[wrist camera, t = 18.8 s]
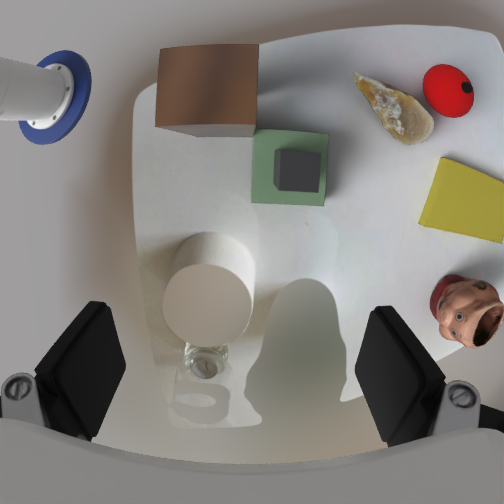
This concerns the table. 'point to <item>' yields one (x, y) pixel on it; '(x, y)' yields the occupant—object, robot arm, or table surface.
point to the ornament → (448, 90)
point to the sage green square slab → (264, 165)
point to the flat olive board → (465, 202)
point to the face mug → (467, 310)
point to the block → (297, 171)
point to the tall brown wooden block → (208, 90)
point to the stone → (397, 110)
